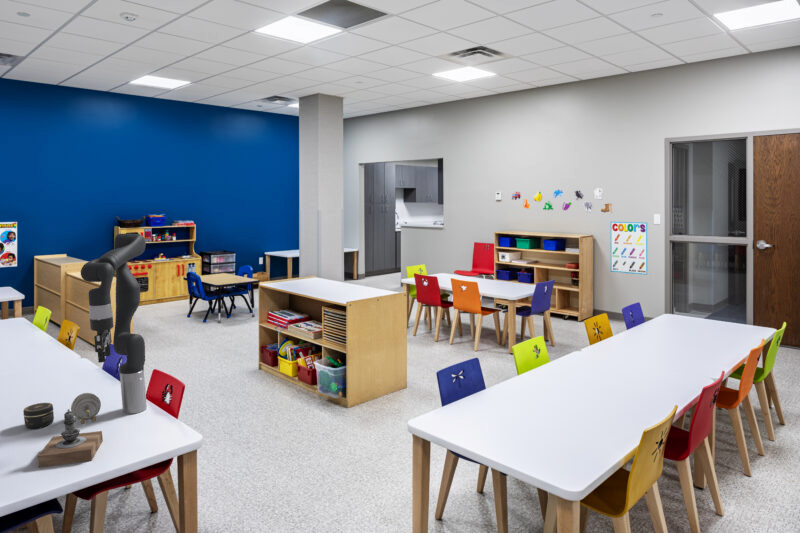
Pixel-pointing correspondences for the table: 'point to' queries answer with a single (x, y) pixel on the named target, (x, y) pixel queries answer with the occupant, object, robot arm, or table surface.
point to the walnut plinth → (70, 450)
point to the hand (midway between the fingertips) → (104, 358)
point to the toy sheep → (86, 407)
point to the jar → (38, 415)
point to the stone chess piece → (70, 429)
